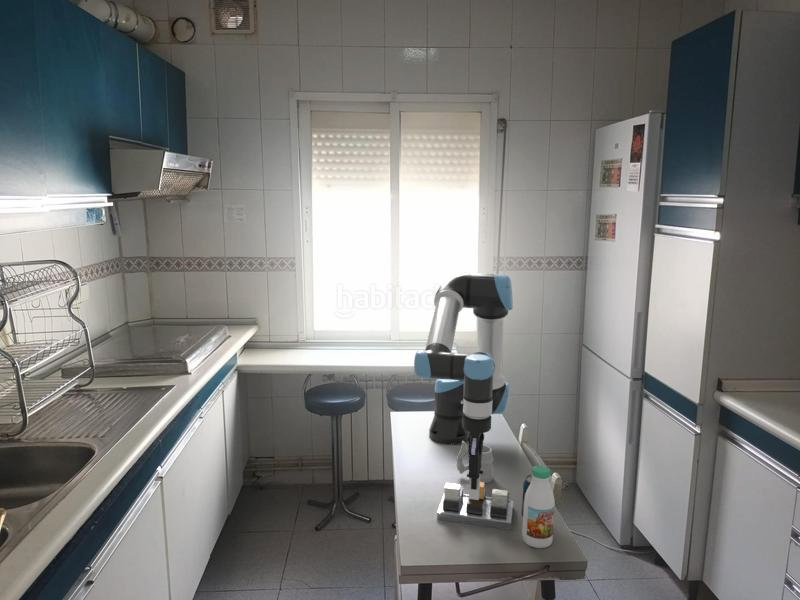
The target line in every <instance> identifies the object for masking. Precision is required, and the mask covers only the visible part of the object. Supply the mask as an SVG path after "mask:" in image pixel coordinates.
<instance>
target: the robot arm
mask: <svg viewBox="0 0 800 600" xmlns="http://www.w3.org/2000/svg"><path fill="white" fill-rule="evenodd" d="M511 281H512V280H511V278H510V276H509V275H506V274H498V273H470V272H469V273H468V272H462V273H458V274H455V275H453V276H451V277H449V278H448V279H447V280H445V281H444V282H443V283H442V284H441V285H440V286H439V288H438V289H437V291H436V293H435V295H434V298H433V303H434V304H433V305H434V312H433V316H432V321H431V324H430V327H429V333H428V336H427V341H426V344H425V349H423V350H417V351H416V352H415V355H414V361H413V362H414V363H413V369H414V370H413V371H414V374H415V376H416V377H419V378H425V379H431V380H432V379H436V380H435V385H434V390H433V391H434V416H433V419H432V421H431V424H430V427H429V430H428V431H429V432H428V434H429V435H428V436H429V438H430V439H431V440H432V441H434V442H436V443H439V444H444V445H460V444H462V441H464V442H465V443H466V442H467V445H468V447H467V449H468V453H467V454H468V464H469V470H468V473H466V478H468V481H469V482H468V494H469V499H474V500H479V493H480V475H479V474H483V471H480V469H481V457H482V449H483V445H484V440H485V433H488V432H490V430H491V429H492V415H501V414H504V413H505V411H506V408H507V404H508V398H509V397H508V396H509V391H510V390H509V389H510V383H509V382H507V381H506V378H505V376H504V375H503V374H502V368H503V367H502V366H503V365H502V364H503V363H502V362H503V360H502V359H503V339H504V338H503V334H504V333H503V332H504V319H505V318H506V317H507V316H508V314H509V311H511V310H513V307H514V304H513V303H514V302H513V288H512V282H511ZM463 309H472V310H473V311H472V313H473V315H474V316H475V317H476V318H477V336H476V338H477V340H476V341H477V344H476V345H477V347H476V351H475V352H473V353H461V352H453V345H454V340H455V336H456V335H455V334H456V330H457V324H458V318H459V313H460V312H461V311H462V310H463Z"/></svg>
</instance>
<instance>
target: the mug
mask: <svg viewBox="0 0 800 600" xmlns="http://www.w3.org/2000/svg"><path fill="white" fill-rule="evenodd" d="M466 454H469V453H468V444H467V443H466V442H464V441H462V443H461V447H460V450H459V452H458V454H457V456H456V458H455V462H456V470H457V471H458V472H459V474H461V475H462V474H463V473H465V472H466V471H469V463H468V464H466V465H465V464H464V463H463V458H464V457H465V455H466ZM493 462H494V457H493V449H492V447H490V446H488V445H485V444H483V449H482V457H481V469H480V471H483V474H479V475H480V482H485V484H488V483H490V482H492V480H493V477H494V471H493Z"/></svg>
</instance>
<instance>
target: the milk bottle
mask: <svg viewBox="0 0 800 600" xmlns="http://www.w3.org/2000/svg"><path fill="white" fill-rule="evenodd" d="M531 475H532V481H531V484H530V485H529V487H528V489H527V491H526V494H525V499H524V511H523V517H522V529H521V530H522V531H521V532H522V534H521V538H522V540H523V542H524V543H525V544H526V545H528V546H530V547H532V548H535V549H546V548H548V547H550V546H551V545H552V544H553V539H554V525H555V524H554V523H555V506H556V505H555V503H556V501H555V495H554V492H553V489H552V486H551V484H550V479H551V469H550V468H549V467H548V466H546V465H542V464H541V465H540V464H537V465H534V466H533V467H532V468H531Z"/></svg>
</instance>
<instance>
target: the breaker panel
mask: <svg viewBox="0 0 800 600" xmlns="http://www.w3.org/2000/svg"><path fill="white" fill-rule="evenodd" d="M464 489H465V488H464V486H461V484H459V483H452V482H451V483H450V482H446V483H445V485H444V490H443V491H444V493H443V495H442V498H441V500H440V503H439V506H438V509H437V512H436V514H437V515H436V520H439V521H446V522H452V523H453V522H454V523H458V524H459V523H460V524H466V525H473V526H480V527H486V528H494V529H502V530H508V531H511V529H512V523H513V522H512V521H513V512H514V500H510V493H509V492H508V490H505V489H497V488H492V492H491V497H490V496H487V489H484V498H483V499H479V500H474V499H469V493H464Z"/></svg>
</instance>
